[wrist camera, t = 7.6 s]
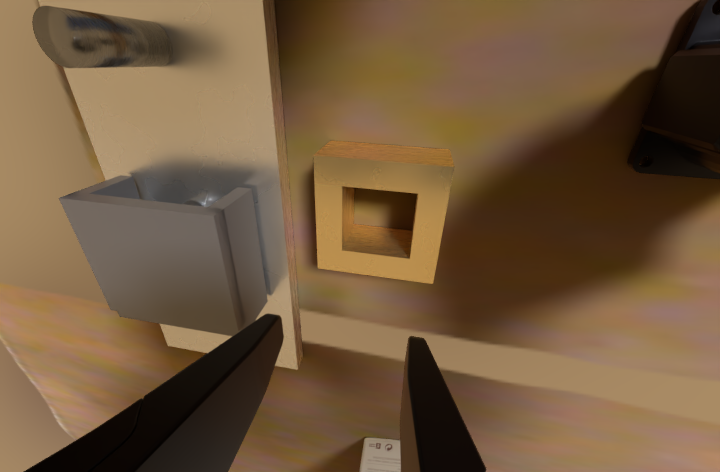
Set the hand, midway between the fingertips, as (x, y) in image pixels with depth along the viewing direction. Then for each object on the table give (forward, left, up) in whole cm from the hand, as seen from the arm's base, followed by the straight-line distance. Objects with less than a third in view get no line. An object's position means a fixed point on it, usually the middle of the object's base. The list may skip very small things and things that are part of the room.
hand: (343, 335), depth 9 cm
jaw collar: (0, 0, -10) cm, 10 cm away
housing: (+11, +3, -9) cm, 14 cm away
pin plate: (+11, +1, -10) cm, 15 cm away
